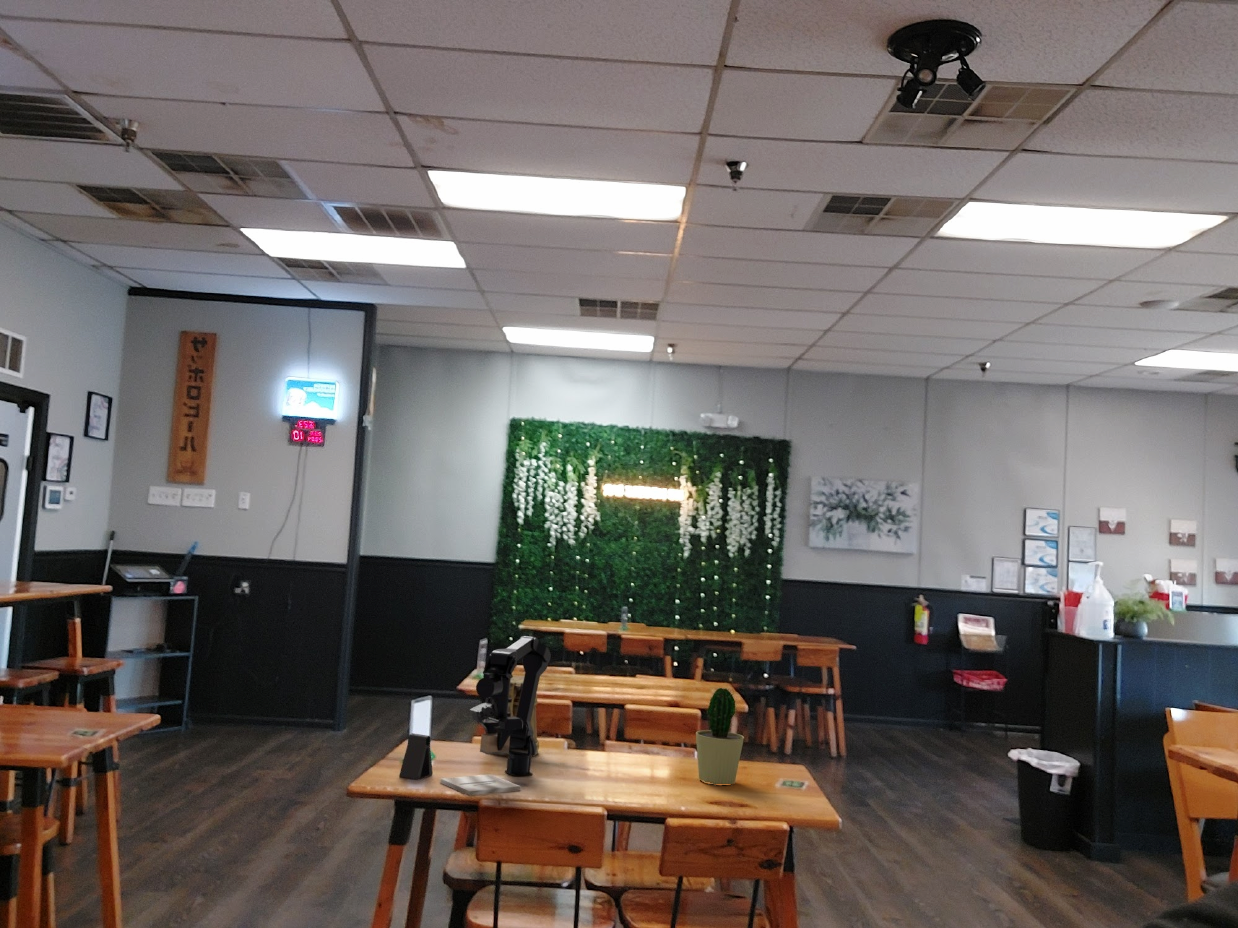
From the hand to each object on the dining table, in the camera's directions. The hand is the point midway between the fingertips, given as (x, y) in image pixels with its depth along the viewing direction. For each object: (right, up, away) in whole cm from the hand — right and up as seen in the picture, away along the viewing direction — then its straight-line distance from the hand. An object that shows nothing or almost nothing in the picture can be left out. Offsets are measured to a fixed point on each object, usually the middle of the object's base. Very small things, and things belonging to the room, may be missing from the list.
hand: (494, 748), depth 296 cm
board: (-4, -10, -4) cm, 11 cm away
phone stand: (-24, -9, +3) cm, 26 cm away
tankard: (0, -15, +47) cm, 49 cm away
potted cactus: (+67, -18, +27) cm, 75 cm away
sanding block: (0, -1, 0) cm, 1 cm away
